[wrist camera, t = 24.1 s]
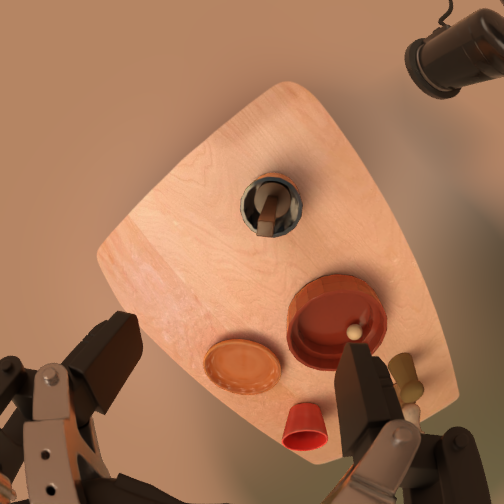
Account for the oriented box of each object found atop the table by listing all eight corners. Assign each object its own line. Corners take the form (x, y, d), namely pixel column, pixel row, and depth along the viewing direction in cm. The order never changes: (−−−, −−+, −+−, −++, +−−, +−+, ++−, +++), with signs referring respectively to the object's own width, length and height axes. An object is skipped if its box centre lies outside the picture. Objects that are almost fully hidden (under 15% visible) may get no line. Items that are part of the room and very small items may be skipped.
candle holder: (421, 376, 51) (447, 439, 32) (410, 398, 54) (430, 457, 35) (391, 381, 52) (412, 449, 33) (381, 403, 55) (397, 467, 36)
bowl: (293, 268, 45) (294, 284, 39) (388, 277, 43) (399, 293, 38) (281, 347, 51) (280, 367, 46) (363, 351, 50) (369, 371, 44)
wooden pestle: (258, 177, 40) (237, 197, 22) (291, 180, 40) (298, 202, 22) (256, 209, 42) (234, 253, 24) (288, 212, 41) (291, 259, 24)
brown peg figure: (409, 369, 50) (423, 403, 40) (386, 374, 51) (397, 409, 41) (414, 350, 48) (431, 384, 38) (390, 355, 49) (404, 391, 39)
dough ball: (363, 323, 44) (366, 338, 44) (357, 320, 47) (360, 335, 47) (347, 328, 44) (351, 343, 44) (343, 325, 47) (346, 340, 47)
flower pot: (275, 414, 60) (272, 445, 51) (300, 393, 56) (300, 426, 47) (308, 425, 60) (308, 454, 51) (334, 405, 56) (338, 436, 47)
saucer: (285, 384, 55) (285, 394, 52) (217, 386, 58) (214, 395, 55) (276, 329, 50) (275, 339, 47) (197, 334, 52) (193, 343, 50)
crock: (250, 170, 40) (242, 174, 33) (301, 175, 40) (305, 180, 32) (247, 219, 43) (238, 234, 36) (296, 224, 42) (298, 240, 35)
